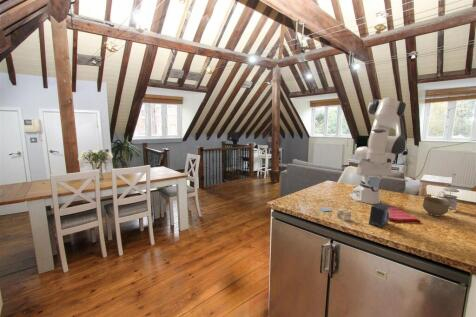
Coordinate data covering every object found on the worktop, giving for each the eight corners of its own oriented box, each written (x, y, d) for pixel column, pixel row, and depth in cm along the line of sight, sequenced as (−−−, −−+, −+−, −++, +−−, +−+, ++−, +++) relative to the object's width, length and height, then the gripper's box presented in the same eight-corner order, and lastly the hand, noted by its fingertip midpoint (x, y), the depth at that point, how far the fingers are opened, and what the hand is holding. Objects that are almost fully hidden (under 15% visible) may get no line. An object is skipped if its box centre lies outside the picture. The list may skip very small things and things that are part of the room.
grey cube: (365, 184, 135) (366, 176, 135) (373, 185, 136) (374, 176, 135) (370, 186, 130) (371, 178, 130) (379, 187, 131) (380, 178, 130)
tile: (318, 208, 152) (318, 207, 152) (327, 208, 153) (327, 207, 153) (322, 211, 147) (322, 210, 146) (331, 211, 147) (332, 210, 147)
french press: (461, 213, 153) (468, 175, 149) (440, 211, 155) (447, 174, 151) (451, 208, 162) (457, 172, 158) (431, 206, 164) (437, 171, 161)
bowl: (437, 220, 140) (440, 203, 138) (416, 212, 152) (418, 197, 150) (453, 218, 143) (455, 202, 141) (431, 210, 155) (433, 196, 154)
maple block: (336, 217, 138) (337, 209, 137) (343, 216, 140) (344, 208, 139) (343, 221, 134) (344, 212, 133) (350, 219, 135) (351, 211, 135)
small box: (381, 228, 125) (383, 209, 124) (368, 224, 130) (370, 205, 129) (388, 223, 132) (391, 205, 130) (376, 219, 137) (378, 202, 135)
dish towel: (390, 222, 134) (391, 218, 134) (369, 208, 158) (370, 204, 157) (421, 224, 134) (422, 220, 133) (396, 209, 157) (396, 205, 157)
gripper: (364, 159, 125) (360, 184, 127) (395, 159, 130) (391, 184, 132) (355, 157, 131) (352, 182, 133) (385, 158, 136) (382, 181, 138)
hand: (372, 183), depth 133 cm, fingers closed on grey cube, 5 cm apart
